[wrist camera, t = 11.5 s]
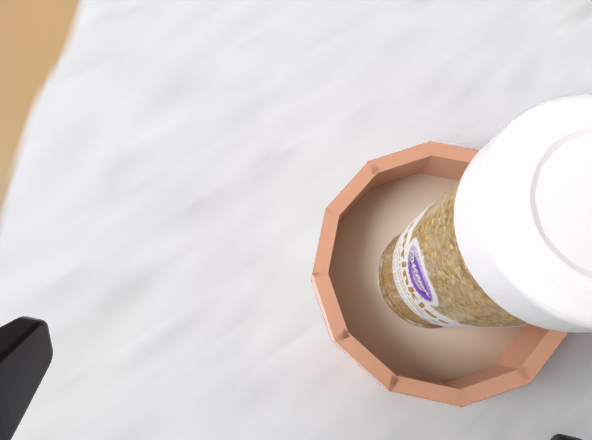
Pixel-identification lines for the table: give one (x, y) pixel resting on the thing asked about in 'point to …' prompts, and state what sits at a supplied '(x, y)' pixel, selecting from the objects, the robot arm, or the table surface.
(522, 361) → the terracotta bowl
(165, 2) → the table surface
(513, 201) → the sprinkles bottle
